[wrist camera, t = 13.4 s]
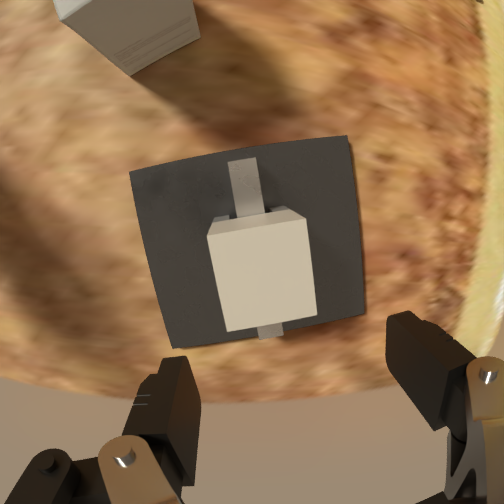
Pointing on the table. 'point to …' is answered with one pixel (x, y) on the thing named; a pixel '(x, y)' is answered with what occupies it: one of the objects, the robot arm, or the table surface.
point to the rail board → (210, 197)
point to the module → (262, 268)
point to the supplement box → (131, 28)
